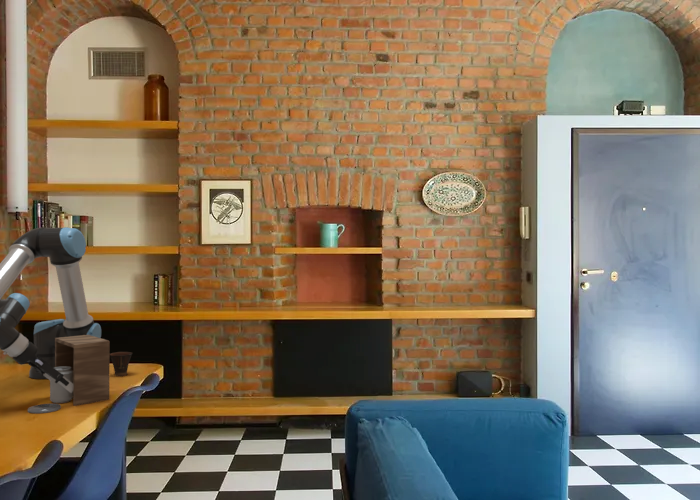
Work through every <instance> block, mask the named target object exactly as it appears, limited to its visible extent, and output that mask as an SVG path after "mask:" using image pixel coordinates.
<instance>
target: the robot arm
mask: <svg viewBox="0 0 700 500" xmlns="http://www.w3.org/2000/svg"><path fill="white" fill-rule="evenodd" d="M86 248H87V242H86V238H85V236H84V234H83V233H82V231H81V230H79V229H77V228H75V227H73V228H72V227H68V226H67V227H66V226H65V227H37V228H33V229H31V230H29V231H27V232H25V233H23V234H22V235H21V236H19V237H17V238H16V239H15V241H13V243H12V244H11V245H10V246H9V248H8V253H7V255H6V256H5V257H4V259H3V260H2V261H1V262H0V350H1V351H3V353H2V354H3V355H5V356H6V355H8V356H9V357H10V358H12V359H13V360H14V361H15V362H16V363H18V365H25V364H27V365H29V366H30V369H29V372H28V375H29V378H31V379H37V380H39V379H40V380H44V379H45V380H46V379H48V380H49V381H50V376H51V377H52V378H53V379H55V380H56V381H55V383H56V384H57V383H59V384H60V385H61V386H63V387H64V388H65V389H66V390H68V391H69V392H70V393H72V392H73V383H72V382H70V381H69V380H68V379H67V378H66V377H64V375H63V374H61V373H60V372H58V371H57V370H56V369H54V368H55V338H61V337H71V336H81V335H91V336H94V337H98V338H101V337H102V327H101V325H100V324H99V323H98V322H95V321H94V317H93V316H92V315H90V314H89V312H88V311H89V310H88V305H87V301H86V294H85V290H84V283H83V278H82V273H81V267H80V262H81V261H82V259H83V256H85V253H86V251H87V250H86ZM43 257H44V258H49V261H50V262H49V263H50V265H52V266H54V267H55V270H56V274H57V275H56V276H57V281H58V285H59V290H60V295H61V300H62V305H63V309H64V315H65V319H64V318H59V319H52V320H46V321H41V322H40V321H39V322H36V324H35V325H34V327H33V328H34V329H33V342H32V341H29V339H28V338H27V337H26V336H24V335H23V334H22V332H19V331H18V330H17V329H16V327H17V326H18V324H19V323H20V322H21V320H22V319H23V317H24V316H25V315H26V313H27V311H28V309H29V308H30V305H31V303H30V300H29V298H28V297H27V296H26V295H24V294H22V293H20V292H14V293H11V294H9V296H8V297H7V298H4V299H2V297H4V295H5V293H7V291H8V290H9V288H10V287H12V284H14V282H15V281H16V279H17V278H18V276H20V274H21V273H22V271H23V270H24V269H25V267H26V266H27V265H29V264H31V263H33V262H34V261H35V259H37V258H43ZM101 339H102V338H101Z"/></svg>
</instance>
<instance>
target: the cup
mask: <svg viewBox="0 0 700 500" xmlns="http://www.w3.org/2000/svg"><path fill="white" fill-rule="evenodd" d="M132 355H133V352H130V351H117V352H112V353H110V360H111V363H112V366H113V371H114V376H115V377H125V376H128V368H129V363H130V360H131V357H132Z"/></svg>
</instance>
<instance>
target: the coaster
mask: <svg viewBox="0 0 700 500" xmlns="http://www.w3.org/2000/svg"><path fill="white" fill-rule="evenodd" d="M61 408H62V406H61V404H60V403H41V404H37V405H32V406H29V407H28V408H27V413H29V414H36V415H37V414H48V413H53V412H57V411H59V410H61Z"/></svg>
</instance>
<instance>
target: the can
mask: <svg viewBox="0 0 700 500" xmlns="http://www.w3.org/2000/svg"><path fill="white" fill-rule="evenodd" d="M54 369H56V370H57V371H58V372H60V373H61V374H63V375H64V377H66V378H67V379H68V380H69V381H70V382H72V383H73V370H72V369H71V367H69V366H61V367H55V368H54ZM55 381H56V380H55V379H53V378H52V377H51V376H50V380H49V401H51V402H52V404H65V403H69V402H71V401H72V400H73V392H72V393H70V392H69V391H68V390H66V389H65V388H64V387H63V386H61V385H60V384H59V383H57V384H56V383H55Z"/></svg>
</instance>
